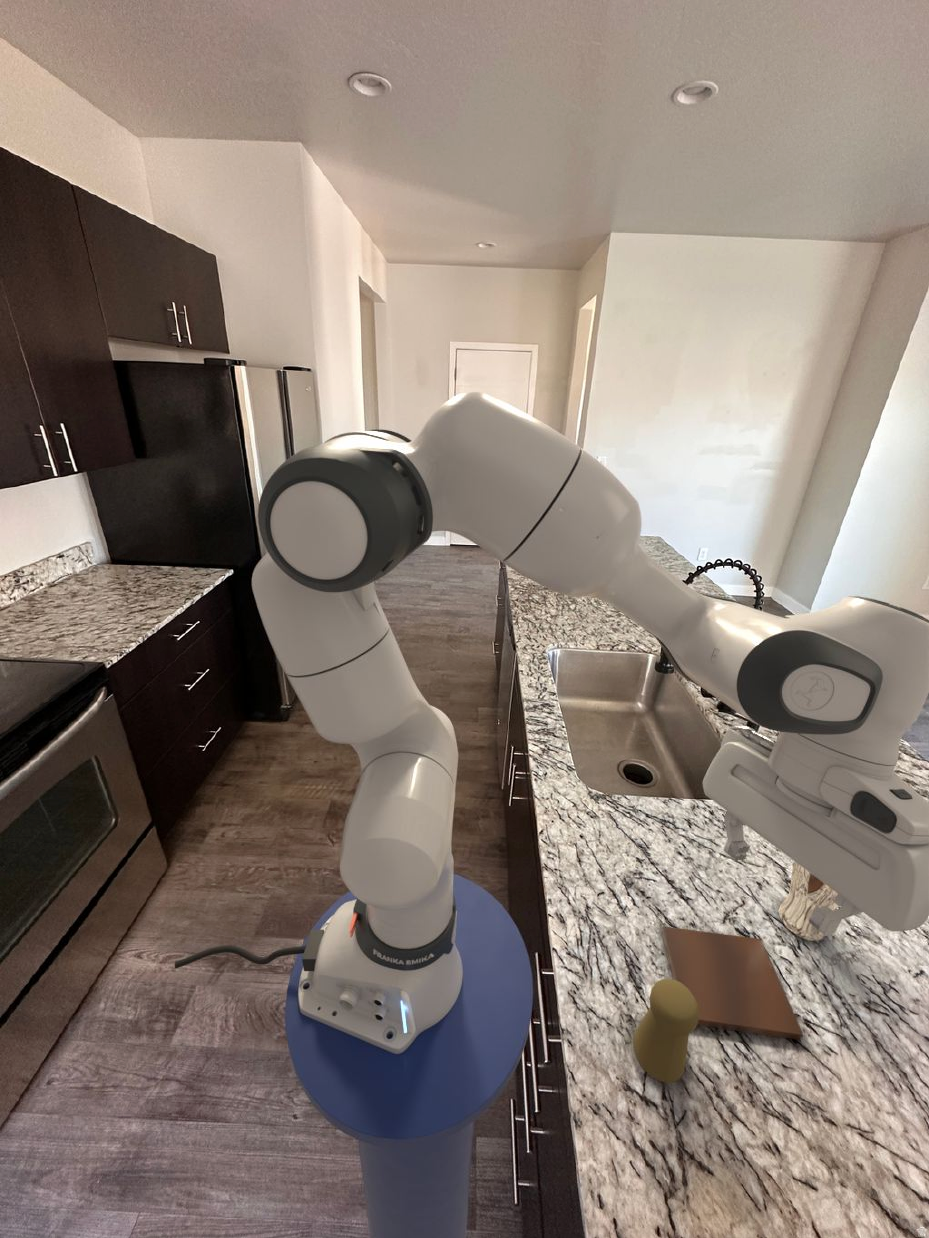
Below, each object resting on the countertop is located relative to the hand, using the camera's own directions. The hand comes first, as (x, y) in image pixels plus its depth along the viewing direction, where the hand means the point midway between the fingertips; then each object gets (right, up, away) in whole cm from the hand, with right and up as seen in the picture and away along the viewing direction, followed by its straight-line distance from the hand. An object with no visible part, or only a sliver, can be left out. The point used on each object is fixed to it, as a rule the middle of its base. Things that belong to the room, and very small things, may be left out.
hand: (773, 889), depth 49 cm
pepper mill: (-8, -26, +10) cm, 29 cm away
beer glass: (+21, -19, +26) cm, 38 cm away
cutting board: (+4, -22, +18) cm, 29 cm away
